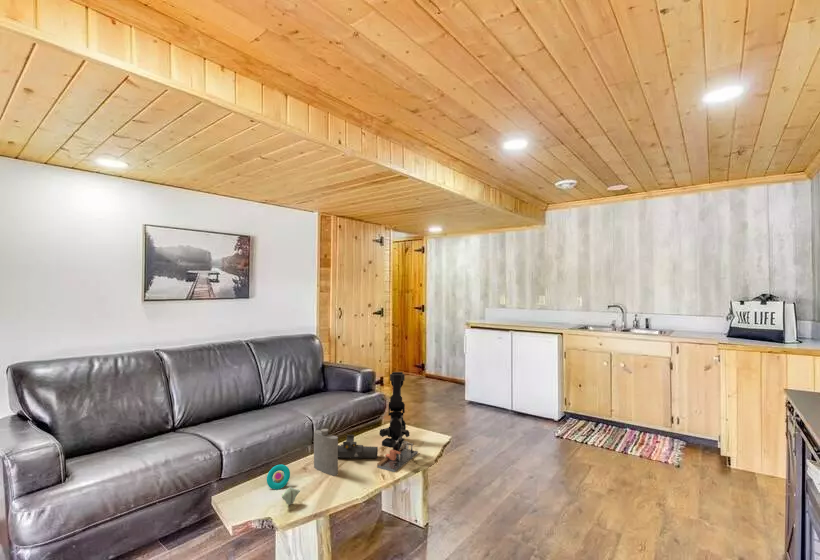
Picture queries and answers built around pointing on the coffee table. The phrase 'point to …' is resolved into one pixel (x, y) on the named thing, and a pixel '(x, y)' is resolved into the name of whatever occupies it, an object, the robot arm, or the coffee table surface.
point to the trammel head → (393, 454)
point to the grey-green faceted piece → (290, 495)
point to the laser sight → (356, 450)
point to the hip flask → (326, 452)
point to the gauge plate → (404, 458)
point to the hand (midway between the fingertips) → (396, 454)
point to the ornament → (278, 477)
